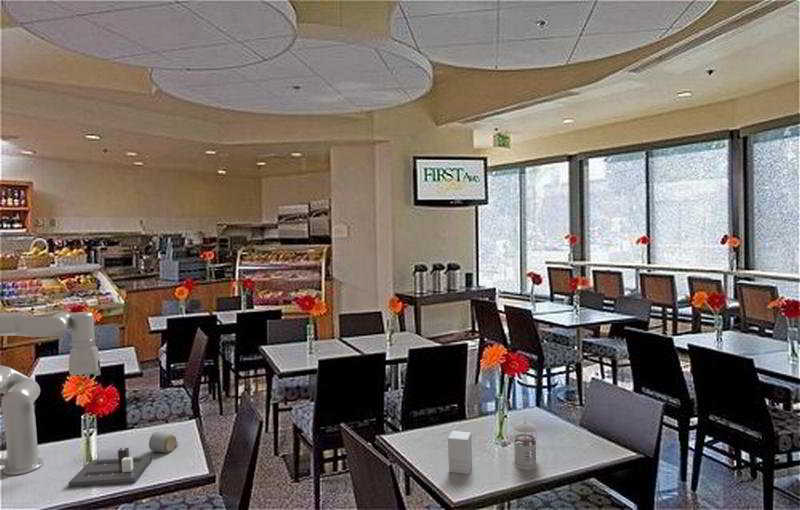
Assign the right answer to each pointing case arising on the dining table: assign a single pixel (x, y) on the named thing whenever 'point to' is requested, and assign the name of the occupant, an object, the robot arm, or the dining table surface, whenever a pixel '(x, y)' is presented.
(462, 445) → the supplement box
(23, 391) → the robot arm
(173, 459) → the dining table surface
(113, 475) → the grey slider board
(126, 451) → the black fader
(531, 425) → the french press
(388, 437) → the dining table surface
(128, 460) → the white upright block
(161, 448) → the grey cylinder
